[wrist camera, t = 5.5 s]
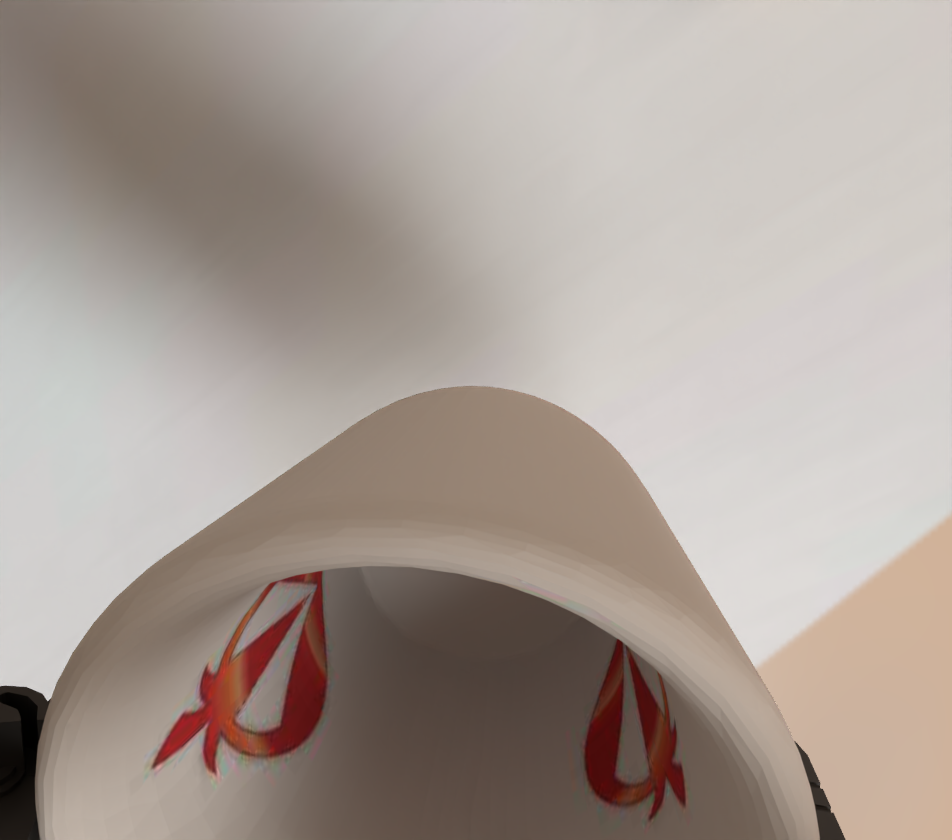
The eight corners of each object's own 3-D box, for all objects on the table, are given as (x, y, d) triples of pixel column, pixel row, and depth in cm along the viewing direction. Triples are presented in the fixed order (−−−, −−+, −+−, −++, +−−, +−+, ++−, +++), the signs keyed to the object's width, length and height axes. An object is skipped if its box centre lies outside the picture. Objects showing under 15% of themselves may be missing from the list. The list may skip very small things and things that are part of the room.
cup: (627, 820, 16) (687, 1355, 9) (287, 766, 17) (73, 1225, 9) (720, 360, 13) (945, 591, 6) (294, 312, 14) (-26, 462, 6)
